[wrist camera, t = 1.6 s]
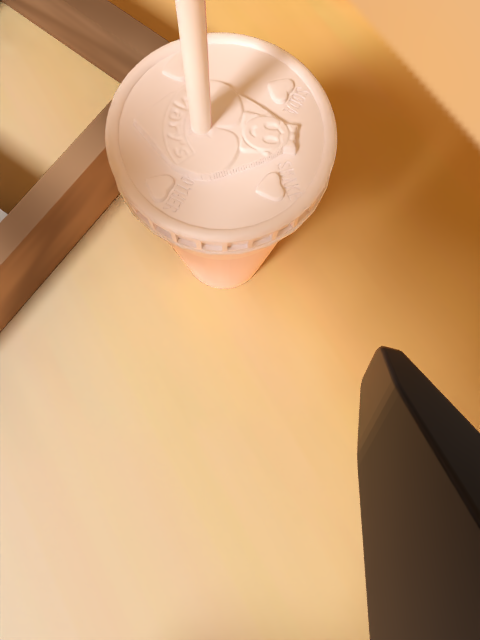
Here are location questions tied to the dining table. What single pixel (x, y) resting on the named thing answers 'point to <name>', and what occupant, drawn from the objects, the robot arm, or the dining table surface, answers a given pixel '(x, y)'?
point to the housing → (81, 156)
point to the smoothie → (220, 146)
